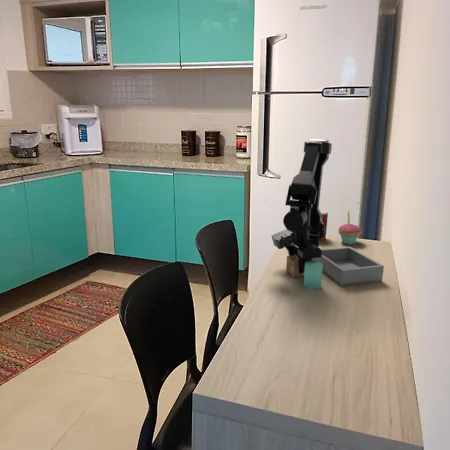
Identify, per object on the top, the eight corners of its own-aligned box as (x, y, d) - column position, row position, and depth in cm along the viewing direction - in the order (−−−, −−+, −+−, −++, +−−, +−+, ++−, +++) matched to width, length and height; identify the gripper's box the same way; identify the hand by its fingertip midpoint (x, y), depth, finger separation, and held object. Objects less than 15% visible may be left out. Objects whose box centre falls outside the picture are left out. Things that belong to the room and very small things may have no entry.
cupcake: (332, 240, 171) (335, 210, 168) (350, 237, 175) (353, 208, 171) (347, 247, 164) (350, 215, 160) (365, 244, 167) (368, 213, 164)
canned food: (325, 242, 169) (328, 214, 166) (304, 240, 171) (306, 212, 168) (325, 236, 177) (327, 209, 173) (305, 234, 178) (307, 207, 175)
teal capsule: (300, 283, 132) (302, 261, 130) (315, 281, 133) (317, 259, 131) (308, 290, 127) (310, 267, 125) (324, 288, 129) (325, 265, 127)
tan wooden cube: (286, 270, 141) (286, 256, 140) (300, 269, 143) (301, 254, 141) (293, 276, 136) (294, 261, 135) (307, 275, 138) (308, 260, 137)
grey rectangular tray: (311, 264, 146) (312, 250, 145) (348, 260, 151) (350, 246, 149) (341, 286, 130) (343, 270, 129) (382, 281, 134) (383, 265, 133)
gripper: (263, 216, 141) (261, 262, 145) (289, 233, 124) (286, 284, 128) (295, 213, 144) (292, 258, 149) (324, 230, 127) (320, 280, 132)
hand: (297, 269), depth 139 cm, fingers closed on tan wooden cube, 5 cm apart
